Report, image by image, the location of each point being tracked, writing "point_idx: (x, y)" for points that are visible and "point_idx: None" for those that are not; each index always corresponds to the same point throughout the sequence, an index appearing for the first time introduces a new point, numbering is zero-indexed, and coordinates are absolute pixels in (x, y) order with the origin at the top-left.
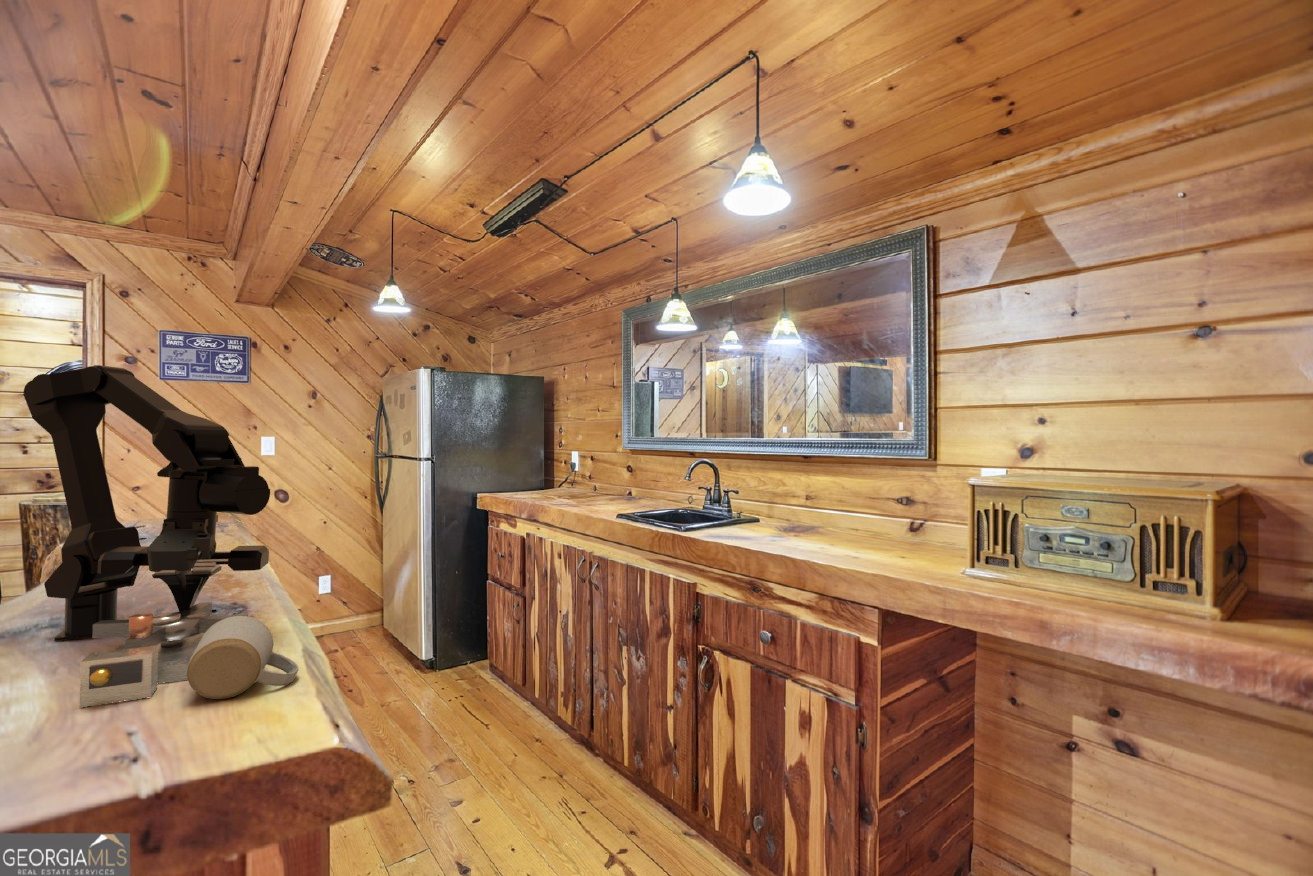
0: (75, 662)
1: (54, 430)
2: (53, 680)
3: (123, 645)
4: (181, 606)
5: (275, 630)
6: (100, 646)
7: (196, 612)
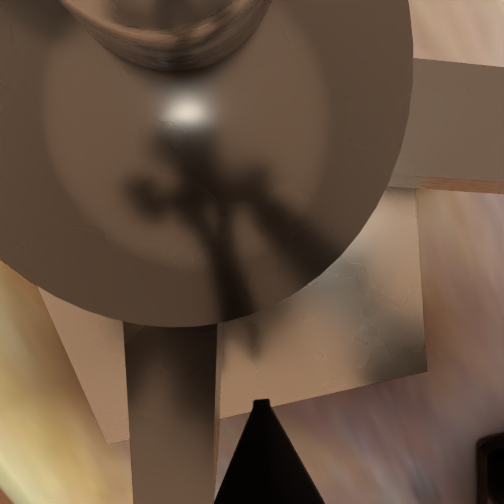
0: (494, 218)
1: None
2: (499, 33)
3: (400, 193)
4: (276, 460)
5: (23, 422)
6: (476, 358)
7: (67, 268)
